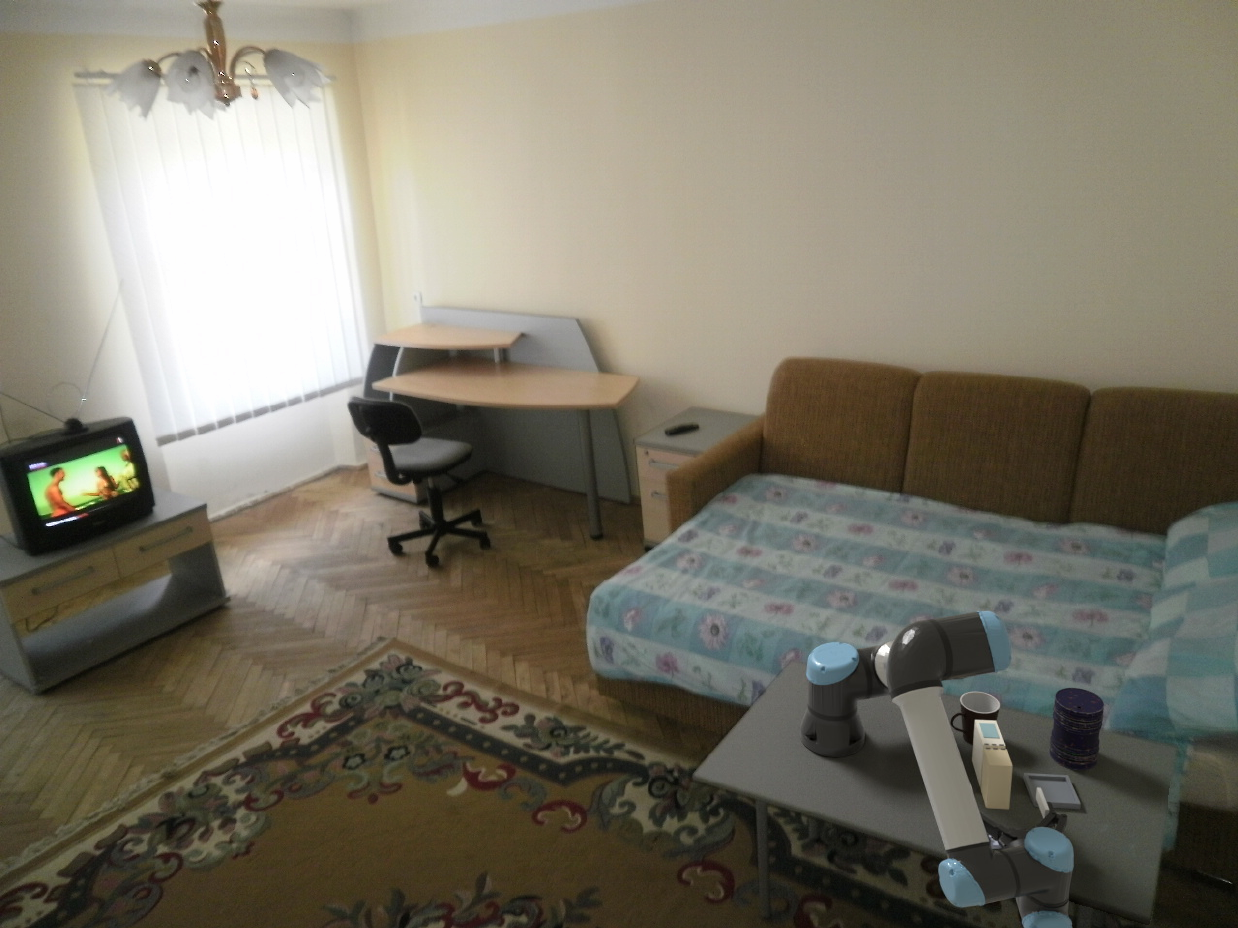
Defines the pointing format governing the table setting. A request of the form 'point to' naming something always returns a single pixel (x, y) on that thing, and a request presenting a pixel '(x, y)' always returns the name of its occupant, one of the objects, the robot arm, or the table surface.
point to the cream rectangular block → (996, 778)
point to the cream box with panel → (984, 743)
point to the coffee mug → (975, 712)
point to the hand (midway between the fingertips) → (1002, 790)
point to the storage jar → (1076, 728)
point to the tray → (1052, 790)
